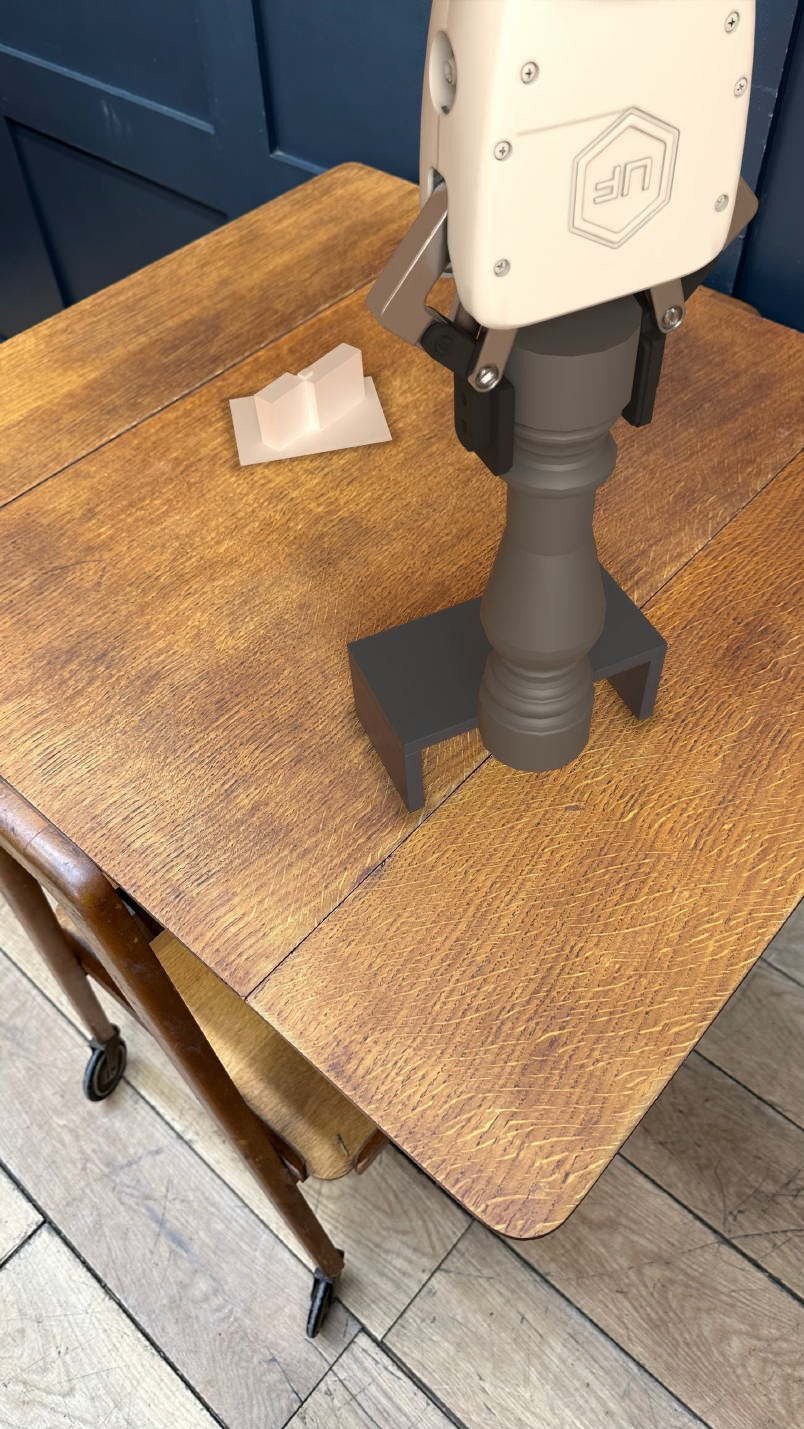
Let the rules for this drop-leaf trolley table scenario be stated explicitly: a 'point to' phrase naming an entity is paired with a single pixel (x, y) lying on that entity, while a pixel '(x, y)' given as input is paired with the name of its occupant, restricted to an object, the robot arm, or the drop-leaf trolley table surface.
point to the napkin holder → (311, 411)
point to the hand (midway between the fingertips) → (556, 428)
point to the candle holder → (553, 534)
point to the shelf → (475, 678)
